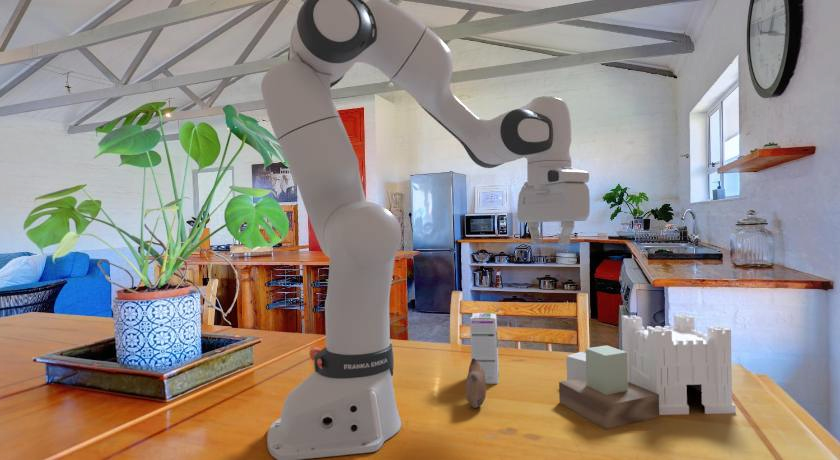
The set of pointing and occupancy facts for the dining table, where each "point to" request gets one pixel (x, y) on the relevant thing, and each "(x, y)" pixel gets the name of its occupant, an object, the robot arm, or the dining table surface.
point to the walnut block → (609, 403)
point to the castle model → (680, 363)
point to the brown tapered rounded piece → (475, 384)
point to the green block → (606, 369)
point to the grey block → (576, 366)
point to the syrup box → (485, 344)
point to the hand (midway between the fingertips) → (549, 244)
